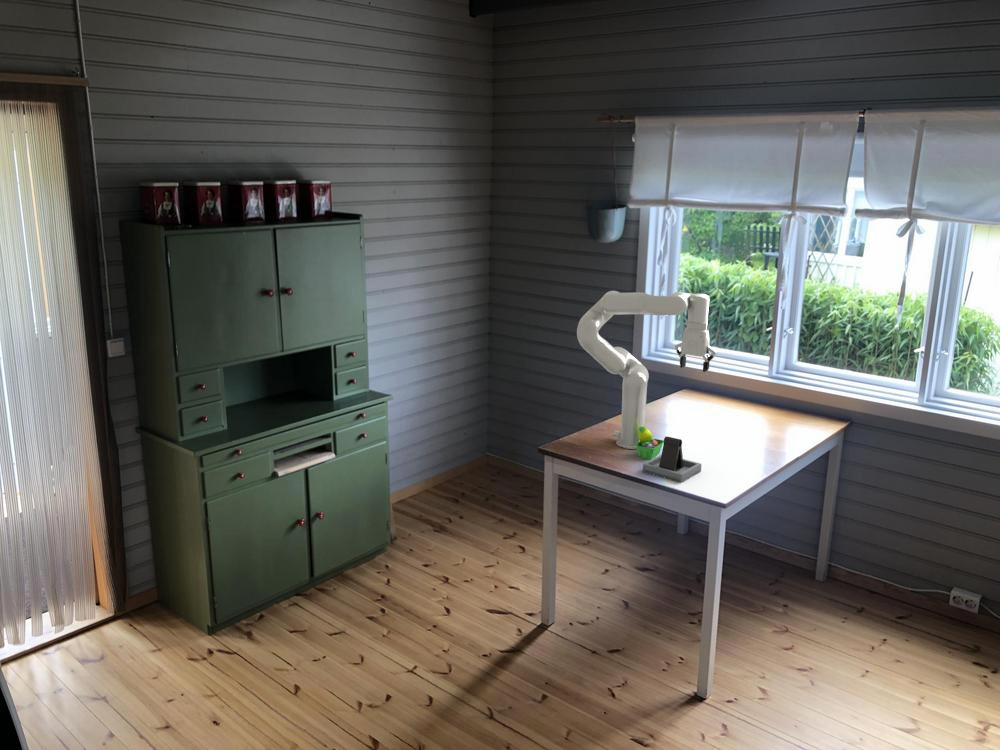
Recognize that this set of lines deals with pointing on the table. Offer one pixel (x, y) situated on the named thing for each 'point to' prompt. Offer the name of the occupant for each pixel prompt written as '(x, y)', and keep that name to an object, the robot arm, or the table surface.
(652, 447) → the fruit basket
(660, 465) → the phone stand
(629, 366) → the robot arm
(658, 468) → the tray
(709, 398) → the table surface
